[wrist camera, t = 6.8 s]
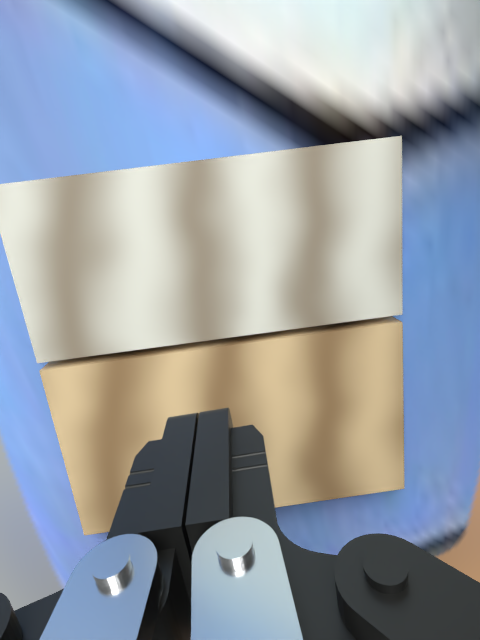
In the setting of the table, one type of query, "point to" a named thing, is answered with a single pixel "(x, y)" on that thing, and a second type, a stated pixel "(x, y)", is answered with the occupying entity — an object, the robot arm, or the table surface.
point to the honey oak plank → (241, 409)
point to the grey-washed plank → (206, 248)
